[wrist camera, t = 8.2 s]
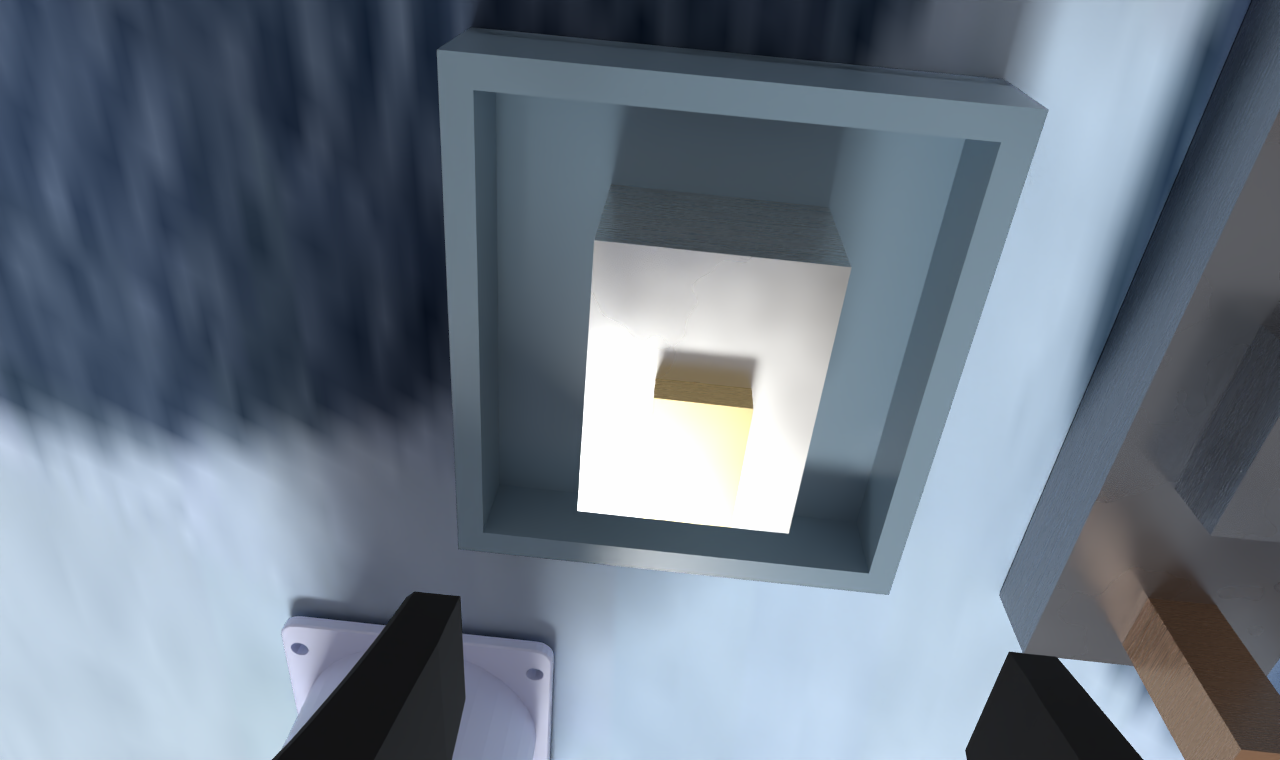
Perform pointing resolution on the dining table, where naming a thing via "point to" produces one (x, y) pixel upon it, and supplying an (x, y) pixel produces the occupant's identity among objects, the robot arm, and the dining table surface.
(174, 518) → the dining table surface
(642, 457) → the white yellow block
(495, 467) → the tray
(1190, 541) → the hand plane
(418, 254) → the dining table surface
